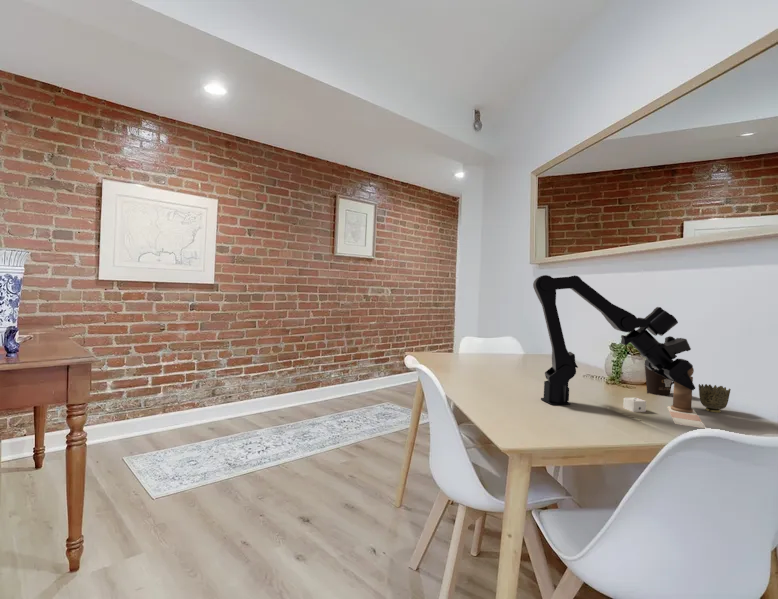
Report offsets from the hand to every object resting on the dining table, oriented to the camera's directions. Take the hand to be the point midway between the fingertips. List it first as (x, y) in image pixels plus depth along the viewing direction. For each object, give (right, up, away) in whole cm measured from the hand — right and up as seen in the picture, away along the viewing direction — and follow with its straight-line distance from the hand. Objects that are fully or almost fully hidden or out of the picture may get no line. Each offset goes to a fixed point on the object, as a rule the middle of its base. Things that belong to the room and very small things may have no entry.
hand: (688, 386), depth 122 cm
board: (-5, -8, -6) cm, 11 cm away
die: (-16, -7, -1) cm, 18 cm away
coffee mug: (+7, -8, +22) cm, 24 cm away
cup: (+8, -8, +2) cm, 12 cm away
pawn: (-2, -7, 0) cm, 7 cm away
